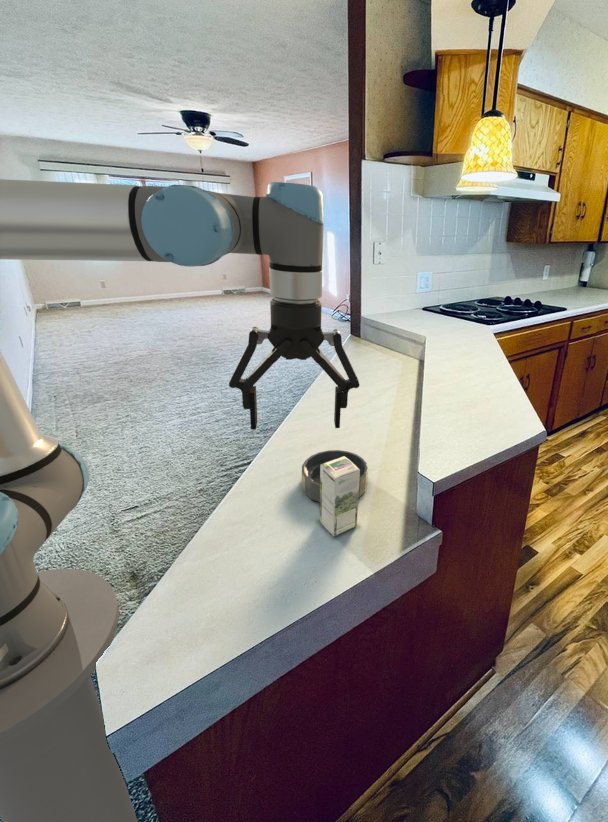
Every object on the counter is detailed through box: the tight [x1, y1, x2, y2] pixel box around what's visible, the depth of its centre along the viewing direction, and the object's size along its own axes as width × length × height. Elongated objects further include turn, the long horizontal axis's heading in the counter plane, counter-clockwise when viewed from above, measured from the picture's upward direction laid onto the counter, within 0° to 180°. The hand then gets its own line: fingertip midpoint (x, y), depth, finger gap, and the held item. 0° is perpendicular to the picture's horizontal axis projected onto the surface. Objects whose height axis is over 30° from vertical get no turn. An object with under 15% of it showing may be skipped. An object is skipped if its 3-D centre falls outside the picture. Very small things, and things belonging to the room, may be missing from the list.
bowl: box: [301, 449, 369, 503], centre depth 96 cm, size 15×15×5 cm
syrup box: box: [319, 456, 360, 538], centre depth 82 cm, size 6×6×14 cm
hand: (296, 425), depth 69 cm, fingers open, 13 cm apart
